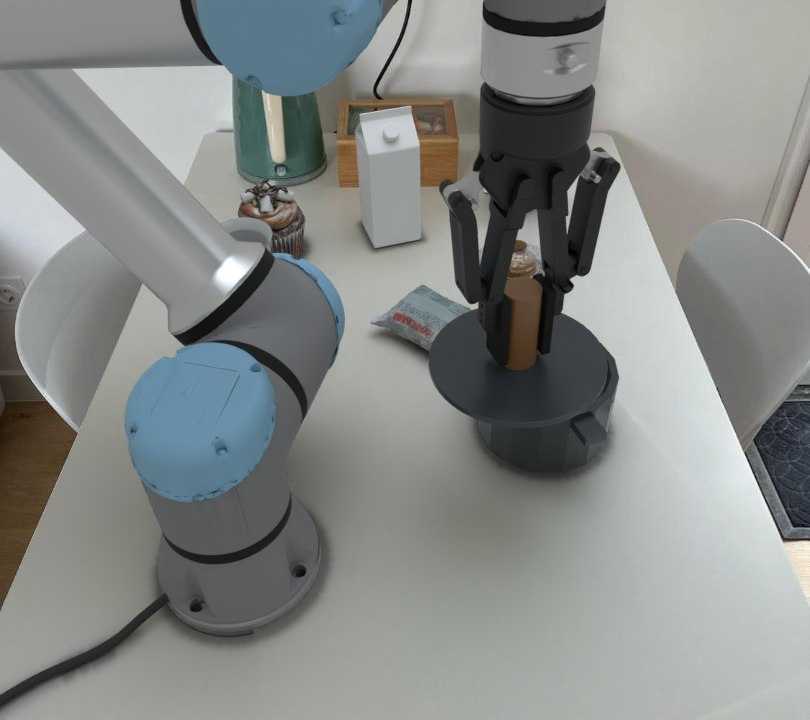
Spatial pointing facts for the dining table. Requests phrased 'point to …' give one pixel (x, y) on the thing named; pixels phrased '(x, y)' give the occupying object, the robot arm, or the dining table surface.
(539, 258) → the pastry
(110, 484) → the dining table surface
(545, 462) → the pot
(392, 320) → the packaged food
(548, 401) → the lid
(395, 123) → the milk carton
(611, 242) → the dining table surface
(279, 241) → the cupcake
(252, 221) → the chalice
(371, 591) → the dining table surface
